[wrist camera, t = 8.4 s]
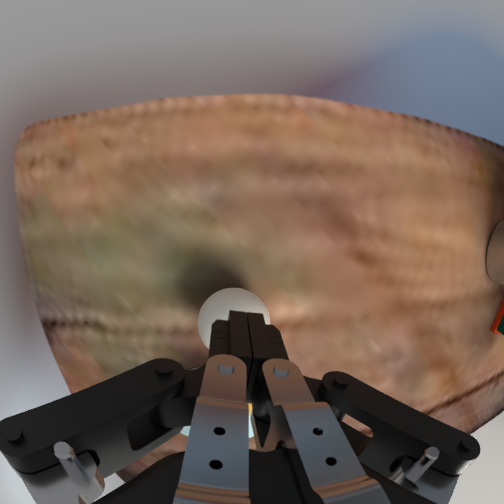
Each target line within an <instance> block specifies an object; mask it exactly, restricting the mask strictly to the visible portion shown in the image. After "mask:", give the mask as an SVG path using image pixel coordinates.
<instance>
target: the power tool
mask: <svg viewBox="0 0 504 504" xmlns="http://www.w3.org/2000/svg"><path fill="white" fill-rule="evenodd" d="M490 330H491V331H492V332H493V333H499V334H503V335H504V299H503V302H502V304H501V306H500V309H499V311H498V313H497V316H496V318H495V320H494V322H493V325H492V327H491V329H490Z"/></svg>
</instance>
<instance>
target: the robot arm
mask: <svg viewBox="0 0 504 504" xmlns="http://www.w3.org/2000/svg"><path fill="white" fill-rule="evenodd" d="M486 267H487V273H488V275H489V277H490V278H491V279H492V280H493V281H495V282H497V283H499V284H501V285H503V286H504V219H503V220H502V221H500V222H499V223H498V224H497V226H496V227H495V229H494V231H493V233H492V236H491V239H490V242H489V246H488V250H487V259H486ZM247 403H251V404H252V411H251V415H250V420H251V425H252V429H253V434H254V438H255V443H256V447H257V451H256V450H251V449H249V405H248V404H247ZM345 414H347V415H349V416H351V417H353V418H354V419H356V420H358V421H359V422H361V423H363V424H365V425H366V426H368V427H370V428H371V429H372V431H373V437H368V436H366V435H364V434H362V433H361V432H359V431H357V430H356V429H354V428H352V427H351V426H349V425H347V424H346V423H344V422H342V420H343V418H344V416H345ZM185 426H191V427H190V431H189V436H188V441H187V445H186V450H185V451H184V452H179V453H175V454H172V455H169V456H167V457H164V458H162V459H161V460H159V461H157V462H156V463H154V464H153V465H151V466H150V467H148V468H147V469H145V470H144V471H143V472H141V473H140V474H138V475H137V476H135V477H134V478H132V479H131V480H129V481H128V482H126V483H124V484H123V485H121V486H120V487H118V488H117V489H115V490H113V491H112V492H110V493H108V494H107V495H105V496H104V497H102V498H100V499H98V500H97V501H95V502H94V500H96V499H97V498H98V497H99V496H101V494H102V493H103V491H104V487H105V483H104V478H106V477H108V476H110V475H111V474H113V473H115V472H117V471H119V470H120V469H122V468H124V467H126V466H127V465H129V464H131V463H132V462H134V461H136V460H137V459H139V458H141V457H142V456H144V455H146V454H147V453H149V452H150V451H152V450H154V449H155V448H157V447H158V446H160V445H161V444H163V443H165V442H166V441H168V440H169V439H171V438H172V437H174V436H175V435H177V434H178V433H179V432H181V430H182V429H183V427H185ZM0 451H1V452H2V453H3V455H4V456H5V458H6V459H7V460H8V462H9V464H10V465H11V467H12V468H13V469H14V470H15V471H16V473H17V474H18V475H19V476H20V477H21V478H22V480H23V482H24V483H25V485H26V487H27V489H28V490H29V492H30V494H31V495H32V497H33V499H34V500H35V502H36V503H37V504H448V503H449V501H450V498H451V496H452V493H453V491H454V488H455V485H456V483H457V480H458V477H459V476H460V475H461V474H462V473H463V472H464V470H466V469H467V468H468V467H469V466H470V465H471V463H472V462H473V461H474V460H475V459H476V458H477V457H478V456H479V454H480V445H479V443H478V441H477V440H476V439H475V438H474V437H473V436H471V435H469V434H467V433H465V432H462V431H460V430H458V429H456V428H454V427H451V426H449V425H447V424H445V423H443V422H440V421H438V420H436V419H434V418H432V417H430V416H428V415H426V414H424V413H422V412H419V411H417V410H415V409H413V408H411V407H409V406H407V405H405V404H403V403H401V402H399V401H397V400H396V399H394V398H392V397H390V396H388V395H386V394H384V393H382V392H380V391H378V390H376V389H375V388H373V387H371V386H369V385H367V384H365V383H363V382H362V381H360V380H358V379H356V378H354V377H352V376H351V375H349V374H346V373H344V372H339V371H332V372H328V373H326V374H325V375H324V376H323V378H322V380H318V379H314V378H309V377H306V376H303V375H302V373H301V371H300V369H299V367H298V366H297V365H295V364H294V363H293V362H290V361H289V358H288V355H287V352H286V349H285V346H284V343H283V340H282V337H281V334H280V331H279V330H278V329H277V328H276V327H275V326H274V325H269V324H265V320H264V316H263V313H253V312H243V311H234V310H229V316H228V320H220V319H217V320H216V321H215V322H214V323H213V324H212V327H211V336H210V345H209V355H208V361H207V363H206V364H205V365H204V366H202V367H200V368H197V369H192V370H184V368H183V366H182V365H181V364H180V363H178V362H176V361H174V360H171V359H166V358H158V359H153V360H151V361H148V362H146V363H144V364H142V365H140V366H137V367H135V368H133V369H131V370H128V371H126V372H124V373H122V374H119V375H117V376H115V377H112V378H110V379H108V380H105V381H103V382H101V383H98V384H96V385H93V386H91V387H88V388H86V389H84V390H81V391H79V392H76V393H74V394H71V395H69V396H66V397H63V398H61V399H58V400H55V401H53V402H50V403H48V404H45V405H42V406H40V407H37V408H34V409H31V410H28V411H25V412H22V413H20V414H17V415H14V416H11V417H8V418H5V419H3V420H1V421H0Z"/></svg>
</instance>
